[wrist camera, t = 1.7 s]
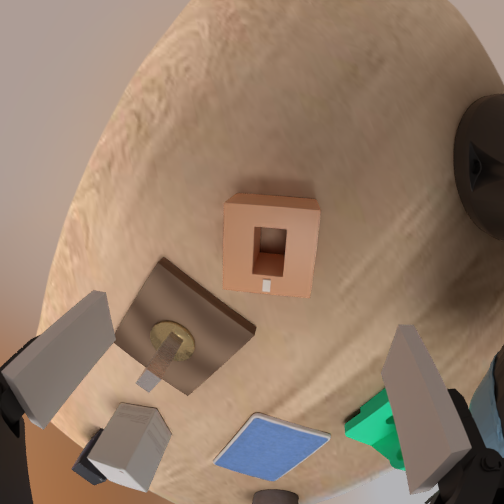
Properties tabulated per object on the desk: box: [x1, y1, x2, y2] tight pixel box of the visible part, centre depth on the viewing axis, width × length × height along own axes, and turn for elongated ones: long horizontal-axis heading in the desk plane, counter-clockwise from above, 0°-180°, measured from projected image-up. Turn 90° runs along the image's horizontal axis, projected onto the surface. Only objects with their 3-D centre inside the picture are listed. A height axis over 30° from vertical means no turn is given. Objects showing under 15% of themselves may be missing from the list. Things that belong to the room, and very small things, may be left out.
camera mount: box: [345, 388, 406, 471], centre depth 28 cm, size 12×8×10 cm, turn 147°
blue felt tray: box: [213, 413, 331, 481], centre depth 39 cm, size 19×13×1 cm, turn 157°
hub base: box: [114, 257, 256, 396], centre depth 28 cm, size 14×12×8 cm
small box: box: [72, 429, 107, 485], centre depth 42 cm, size 11×6×10 cm, turn 141°
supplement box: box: [87, 403, 172, 492], centre depth 34 cm, size 7×7×13 cm
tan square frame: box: [223, 193, 321, 298], centre depth 24 cm, size 7×7×5 cm
